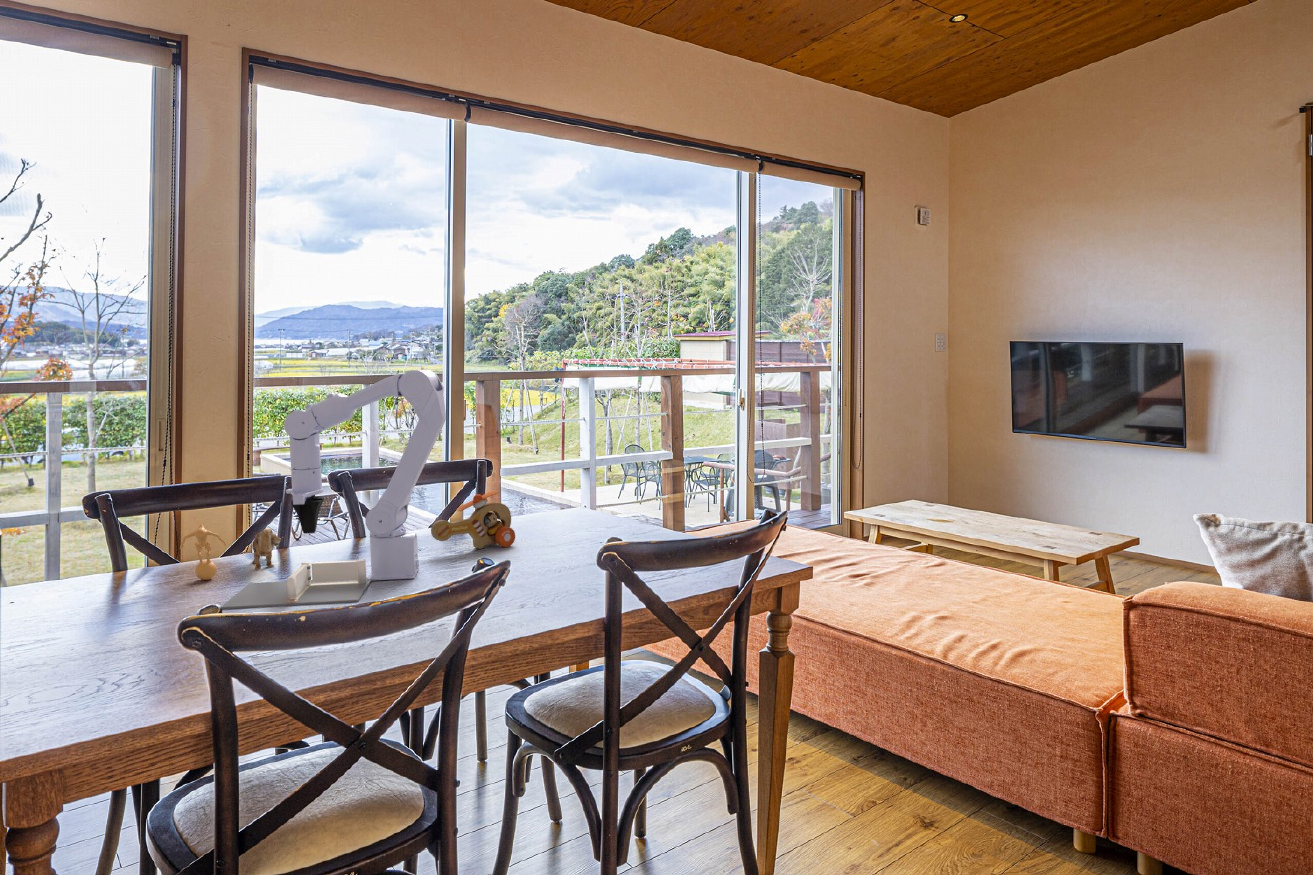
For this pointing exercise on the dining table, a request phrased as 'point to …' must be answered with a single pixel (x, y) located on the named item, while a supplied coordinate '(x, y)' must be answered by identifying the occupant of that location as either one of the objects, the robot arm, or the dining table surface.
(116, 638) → the dining table surface
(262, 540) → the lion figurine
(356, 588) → the board
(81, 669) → the dining table surface
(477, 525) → the toy helicopter
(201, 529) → the figurine
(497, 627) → the dining table surface
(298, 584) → the hinged fence panel
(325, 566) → the fixed fence section
